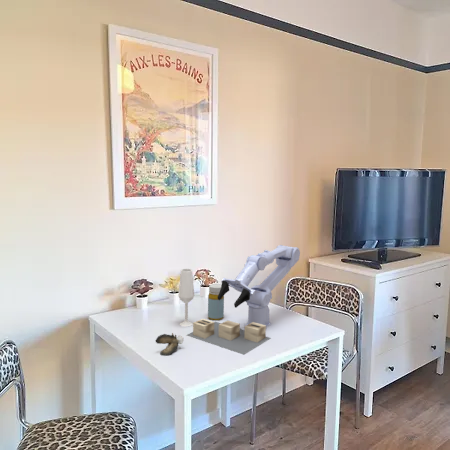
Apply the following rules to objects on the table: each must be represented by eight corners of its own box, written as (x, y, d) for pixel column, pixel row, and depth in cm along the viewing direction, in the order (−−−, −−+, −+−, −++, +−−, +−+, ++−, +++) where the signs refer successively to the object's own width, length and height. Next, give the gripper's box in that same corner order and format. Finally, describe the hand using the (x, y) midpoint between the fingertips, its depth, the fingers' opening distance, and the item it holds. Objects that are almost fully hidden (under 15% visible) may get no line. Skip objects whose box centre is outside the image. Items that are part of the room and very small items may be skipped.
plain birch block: (227, 332, 171) (227, 320, 170) (239, 335, 167) (239, 323, 167) (218, 336, 166) (218, 324, 166) (230, 340, 163) (231, 328, 162)
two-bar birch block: (202, 330, 172) (202, 318, 172) (214, 334, 169) (214, 321, 168) (193, 334, 168) (193, 322, 167) (204, 338, 164) (204, 326, 163)
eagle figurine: (166, 340, 160) (151, 344, 153) (176, 327, 158) (161, 330, 151) (178, 355, 157) (163, 360, 149) (188, 342, 155) (173, 346, 147)
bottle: (225, 320, 185) (226, 287, 183) (211, 322, 183) (211, 288, 181) (220, 315, 192) (220, 283, 190) (205, 316, 189) (206, 284, 187)
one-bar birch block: (252, 333, 170) (253, 321, 169) (265, 337, 166) (265, 325, 165) (244, 338, 165) (244, 326, 164) (257, 342, 161) (257, 329, 161)
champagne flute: (175, 325, 178) (175, 270, 174) (184, 320, 184) (184, 267, 180) (188, 329, 175) (188, 272, 171) (197, 323, 181) (197, 269, 177)
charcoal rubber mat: (215, 322, 182) (215, 321, 182) (271, 339, 166) (271, 338, 166) (186, 336, 167) (186, 335, 167) (244, 355, 151) (244, 354, 151)
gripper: (228, 265, 170) (209, 288, 162) (259, 277, 163) (241, 303, 155) (230, 276, 175) (212, 299, 167) (261, 289, 168) (243, 314, 160)
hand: (226, 302), depth 161 cm, fingers open, 7 cm apart
